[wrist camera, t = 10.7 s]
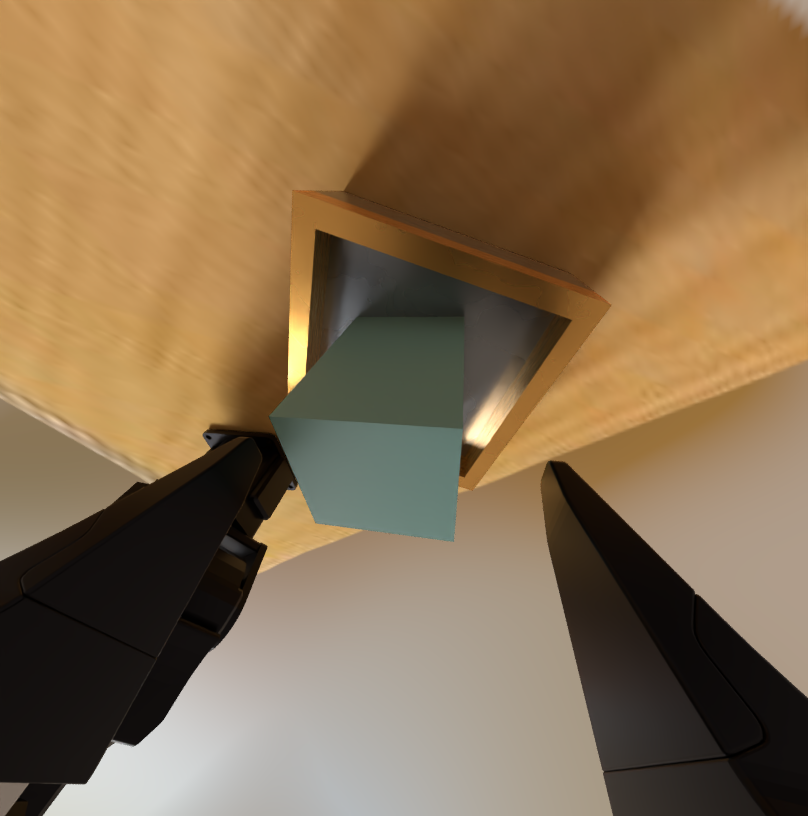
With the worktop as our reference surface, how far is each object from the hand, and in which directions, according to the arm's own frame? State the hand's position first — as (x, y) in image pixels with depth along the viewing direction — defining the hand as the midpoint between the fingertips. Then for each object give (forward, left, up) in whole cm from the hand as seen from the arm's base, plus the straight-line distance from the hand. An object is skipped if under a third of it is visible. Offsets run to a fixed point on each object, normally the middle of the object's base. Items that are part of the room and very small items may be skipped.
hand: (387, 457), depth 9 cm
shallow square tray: (0, 0, -9) cm, 9 cm away
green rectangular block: (0, 0, -6) cm, 6 cm away
